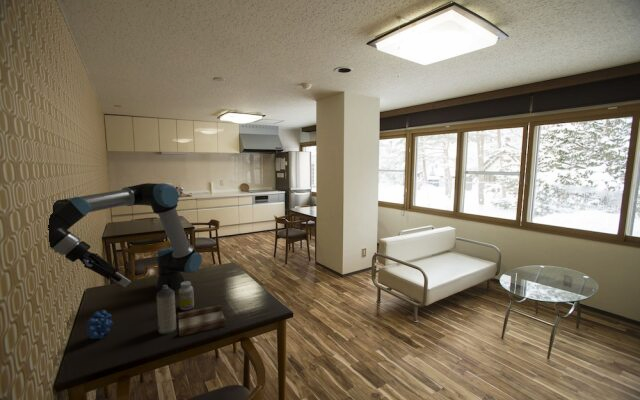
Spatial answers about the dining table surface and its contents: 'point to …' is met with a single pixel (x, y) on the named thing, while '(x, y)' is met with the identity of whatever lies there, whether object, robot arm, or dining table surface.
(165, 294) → the aerosol can
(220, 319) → the cradle
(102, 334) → the grapes
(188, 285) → the supplement bottle
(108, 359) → the dining table surface
